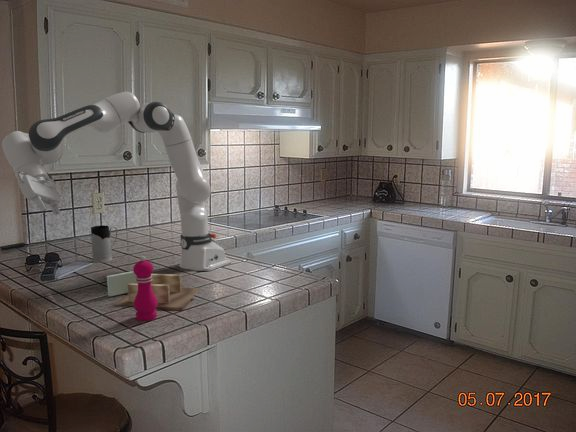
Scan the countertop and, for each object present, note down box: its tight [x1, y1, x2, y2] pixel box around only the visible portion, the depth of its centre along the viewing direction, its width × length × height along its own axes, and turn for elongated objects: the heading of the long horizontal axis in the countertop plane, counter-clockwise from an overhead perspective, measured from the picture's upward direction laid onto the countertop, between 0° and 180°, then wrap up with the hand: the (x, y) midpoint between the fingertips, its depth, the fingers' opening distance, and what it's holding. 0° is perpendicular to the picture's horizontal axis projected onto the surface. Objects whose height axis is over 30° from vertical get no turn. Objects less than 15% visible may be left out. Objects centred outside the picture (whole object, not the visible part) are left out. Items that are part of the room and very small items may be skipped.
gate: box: [106, 271, 138, 297], centre depth 186 cm, size 2×12×7 cm, turn 127°
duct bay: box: [112, 273, 202, 311], centre depth 183 cm, size 24×20×7 cm
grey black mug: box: [90, 224, 119, 264], centre depth 237 cm, size 9×14×15 cm, turn 152°
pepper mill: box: [133, 255, 158, 322], centre depth 165 cm, size 7×7×20 cm
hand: (51, 212), depth 175 cm, fingers open, 8 cm apart
